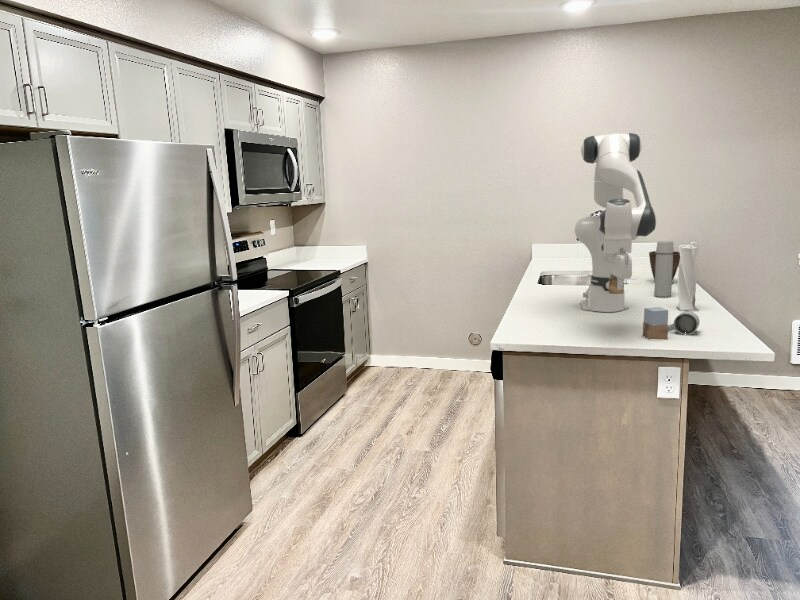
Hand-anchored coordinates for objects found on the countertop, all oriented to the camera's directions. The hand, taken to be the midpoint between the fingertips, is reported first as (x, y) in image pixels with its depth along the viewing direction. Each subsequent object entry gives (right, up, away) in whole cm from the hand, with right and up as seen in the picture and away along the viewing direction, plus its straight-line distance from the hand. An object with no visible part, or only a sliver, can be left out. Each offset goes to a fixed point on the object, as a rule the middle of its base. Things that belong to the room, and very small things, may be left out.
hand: (616, 287), depth 205 cm
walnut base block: (+13, -17, -1) cm, 21 cm away
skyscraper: (+43, -8, +40) cm, 59 cm away
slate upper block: (+13, -12, -2) cm, 18 cm away
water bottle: (+46, -3, +69) cm, 83 cm away
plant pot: (+61, +4, +101) cm, 118 cm away
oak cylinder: (0, -2, 0) cm, 2 cm away
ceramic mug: (+25, -16, +5) cm, 30 cm away
